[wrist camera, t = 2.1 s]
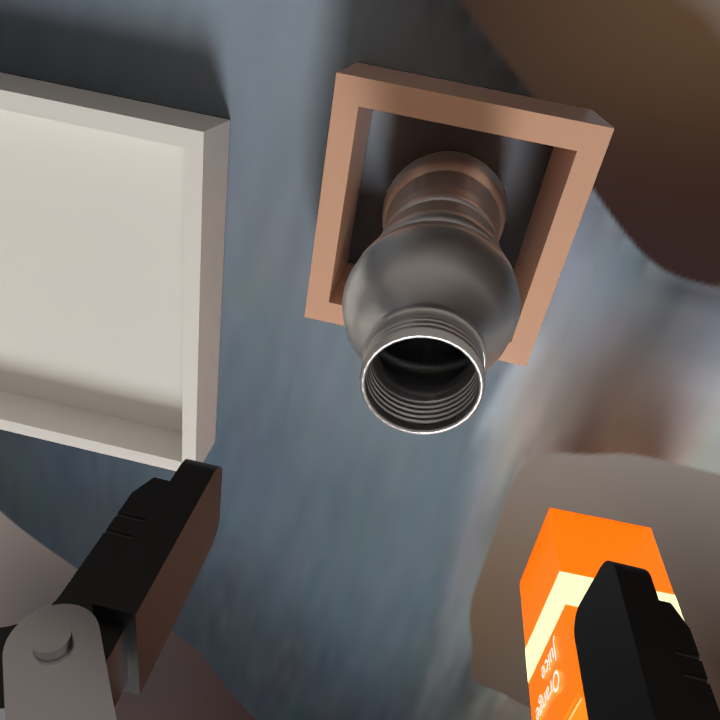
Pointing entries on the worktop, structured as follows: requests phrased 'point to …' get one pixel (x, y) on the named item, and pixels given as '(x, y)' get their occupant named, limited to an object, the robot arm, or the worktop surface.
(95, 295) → the plastic tray
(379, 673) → the worktop surface
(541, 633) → the orange juice
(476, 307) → the plastic bottle
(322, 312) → the terracotta holder
